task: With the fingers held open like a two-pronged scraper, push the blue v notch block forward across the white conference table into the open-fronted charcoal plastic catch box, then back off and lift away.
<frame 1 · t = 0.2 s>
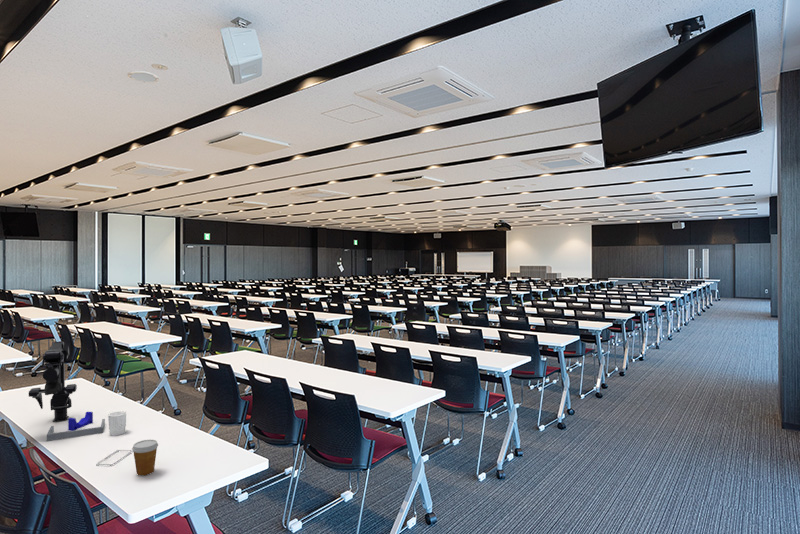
hand: (53, 407, 234), 14 cm above the table, fingers open, 9 cm apart
white cup: (117, 433, 238), on the table
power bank: (114, 460, 208), on the table
catch box: (77, 432, 239), on the table
disposable coffee cup: (145, 472, 195), on the table
blue v notch block: (79, 427, 248), on the table
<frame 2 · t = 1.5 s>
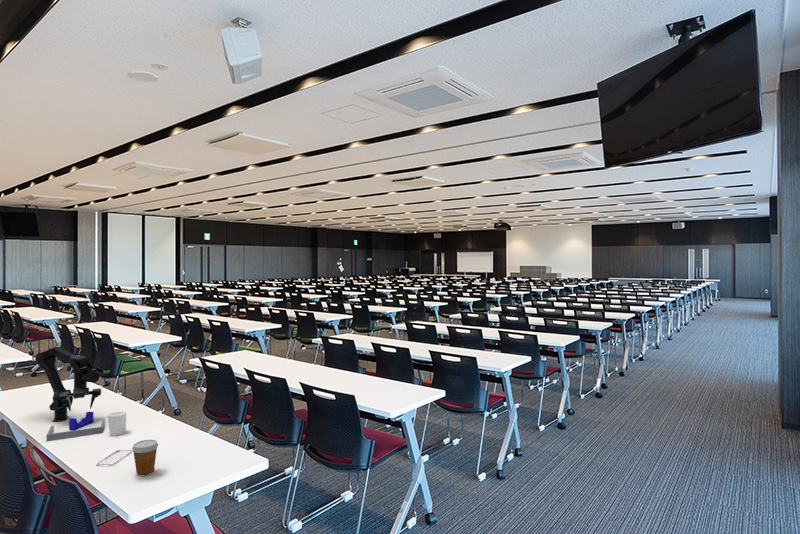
hand: (80, 409, 254), 7 cm above the table, fingers open, 9 cm apart
nothing on the table moved.
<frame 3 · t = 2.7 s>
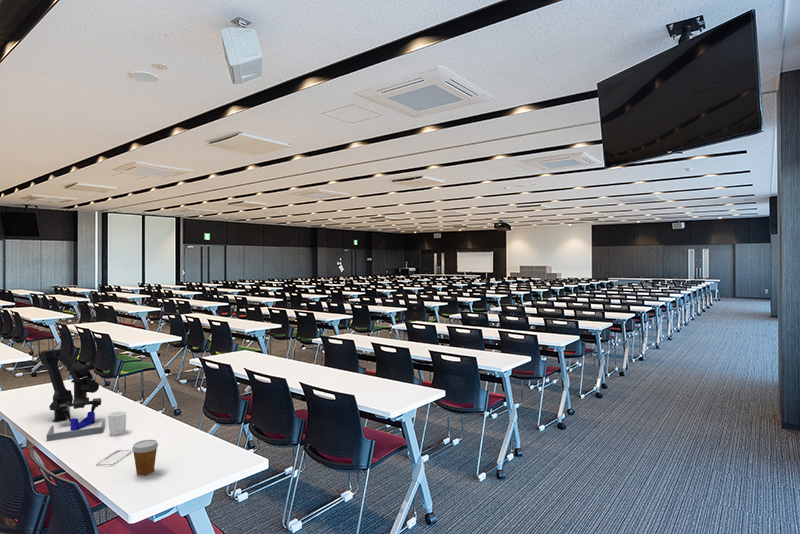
hand: (80, 419, 253), 2 cm above the table, fingers open, 9 cm apart
blue v notch block: (81, 427, 248), on the table, touching gripper
everything else where it was.
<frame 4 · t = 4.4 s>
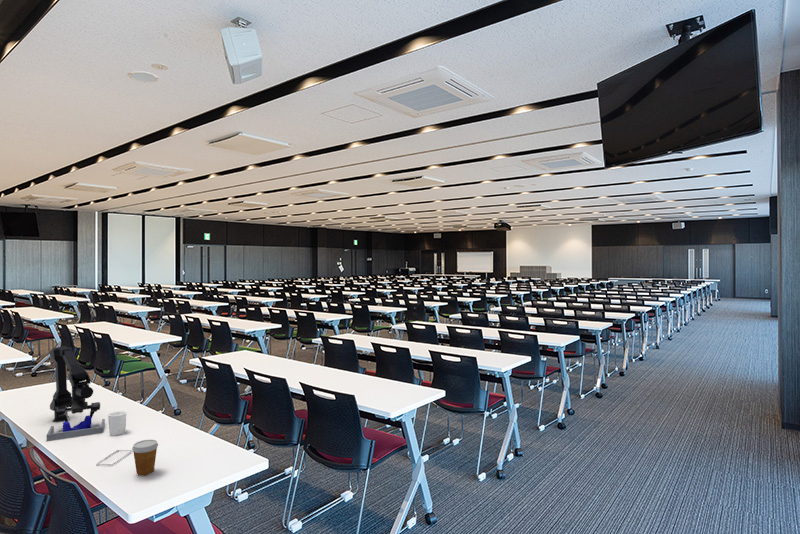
hand: (79, 425, 245), 2 cm above the table, fingers open, 9 cm apart
blue v notch block: (76, 430, 241), on the table, touching gripper
everything else where it was.
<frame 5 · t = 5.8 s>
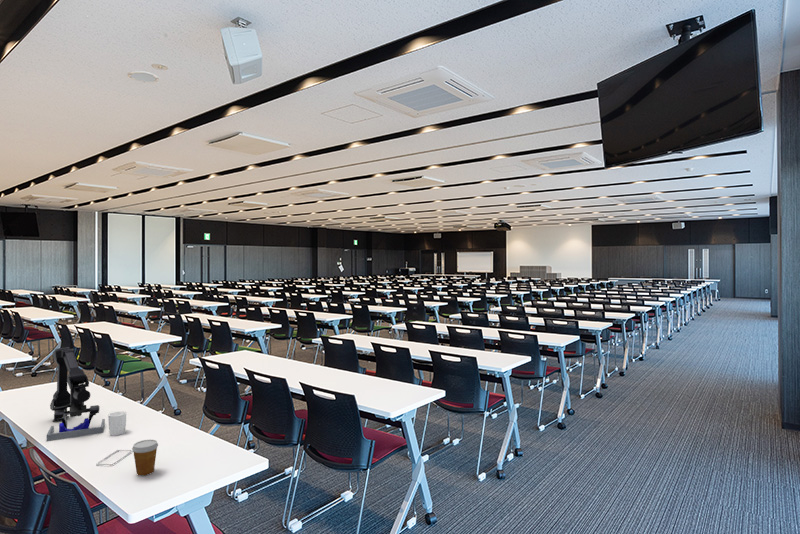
hand: (77, 428, 240), 2 cm above the table, fingers open, 9 cm apart
blue v notch block: (73, 432, 238), on the table, touching gripper
everything else where it was.
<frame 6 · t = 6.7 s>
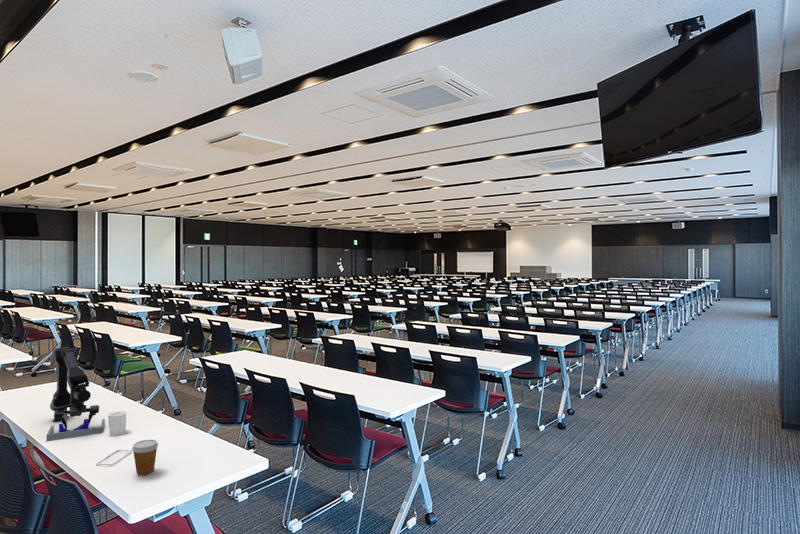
hand: (77, 428, 242), 1 cm above the table, fingers open, 9 cm apart
blue v notch block: (73, 433, 238), on the table
everything else where it was.
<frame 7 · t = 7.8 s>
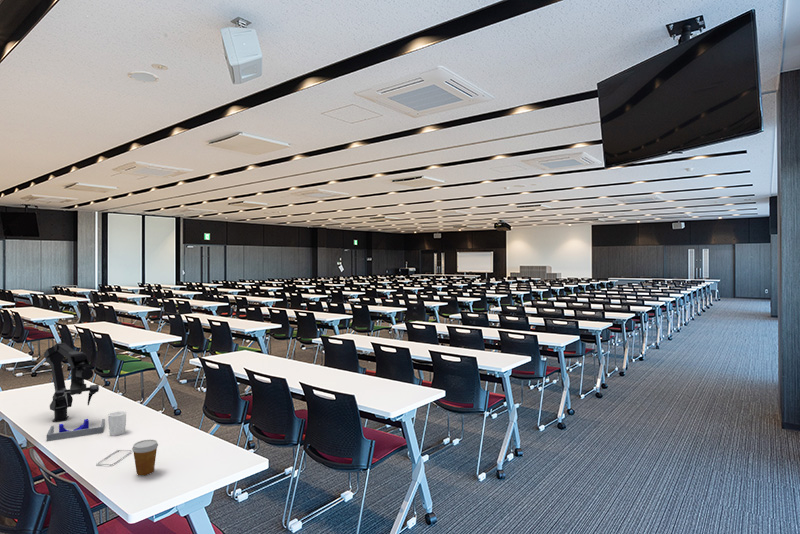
hand: (77, 406, 249), 10 cm above the table, fingers open, 9 cm apart
nothing on the table moved.
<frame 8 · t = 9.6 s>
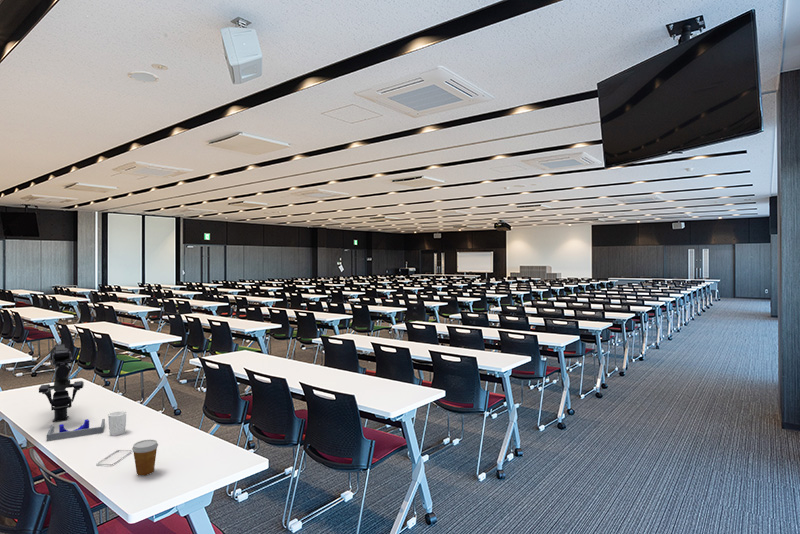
hand: (61, 403, 248), 12 cm above the table, fingers open, 9 cm apart
at the end: blue v notch block inside the target area on the catch box (1.5 cm from its centre), point 0.0 cm above the catch box's base; blue v notch block moved 11.6 cm from its start; the gripper is holding nothing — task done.
